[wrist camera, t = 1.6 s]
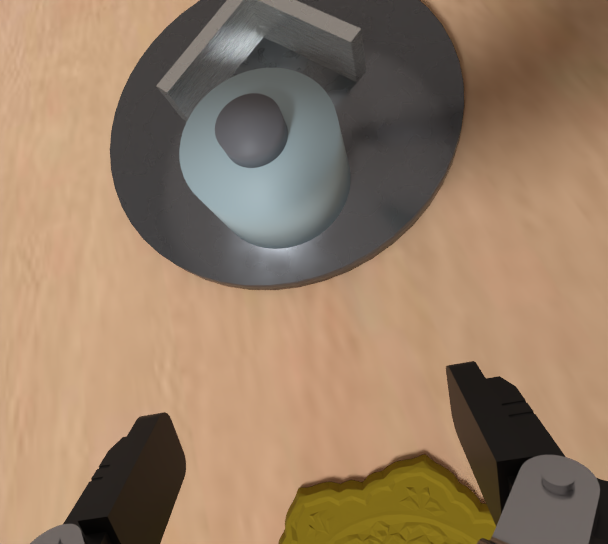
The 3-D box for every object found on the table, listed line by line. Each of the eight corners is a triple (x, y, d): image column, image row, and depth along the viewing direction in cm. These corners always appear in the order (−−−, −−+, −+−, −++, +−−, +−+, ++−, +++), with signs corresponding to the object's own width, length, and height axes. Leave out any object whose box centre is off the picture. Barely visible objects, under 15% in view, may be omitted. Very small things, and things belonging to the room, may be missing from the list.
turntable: (506, 248, 29) (527, 216, 24) (121, 319, 34) (70, 305, 29) (418, -60, 38) (420, -133, 33) (120, 32, 42) (80, -20, 37)
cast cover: (258, 107, 35) (220, 32, 28) (375, 148, 32) (365, 76, 25) (193, 217, 33) (136, 167, 26) (309, 271, 30) (279, 232, 23)
